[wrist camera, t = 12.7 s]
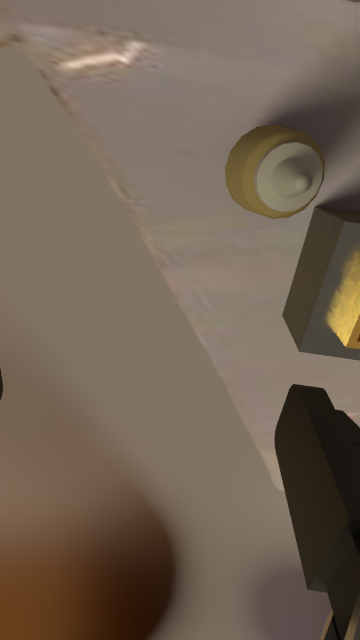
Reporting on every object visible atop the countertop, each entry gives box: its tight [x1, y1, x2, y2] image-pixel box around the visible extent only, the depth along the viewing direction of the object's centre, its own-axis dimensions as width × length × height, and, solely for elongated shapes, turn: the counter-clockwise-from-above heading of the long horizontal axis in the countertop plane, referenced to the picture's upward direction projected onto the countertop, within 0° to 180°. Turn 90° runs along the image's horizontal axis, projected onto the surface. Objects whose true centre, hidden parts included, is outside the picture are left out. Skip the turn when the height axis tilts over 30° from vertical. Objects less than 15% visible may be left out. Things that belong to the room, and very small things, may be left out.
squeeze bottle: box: [225, 125, 325, 219], centre depth 28 cm, size 8×8×18 cm
